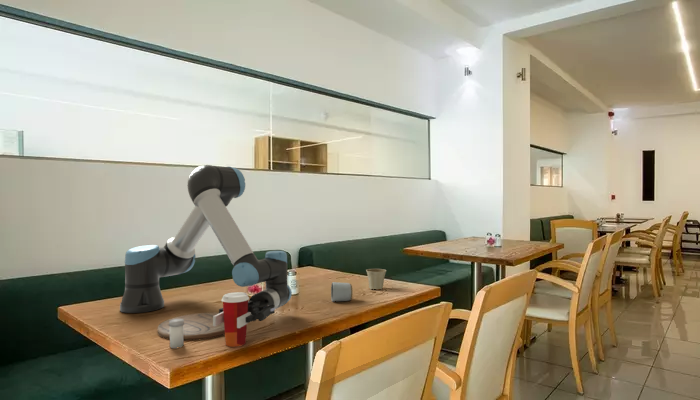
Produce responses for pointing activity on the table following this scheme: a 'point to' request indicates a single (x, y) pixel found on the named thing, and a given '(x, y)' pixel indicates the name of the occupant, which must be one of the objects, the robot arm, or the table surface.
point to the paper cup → (234, 318)
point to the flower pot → (376, 278)
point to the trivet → (195, 327)
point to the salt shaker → (176, 333)
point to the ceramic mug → (341, 291)
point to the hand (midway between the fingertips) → (226, 322)
